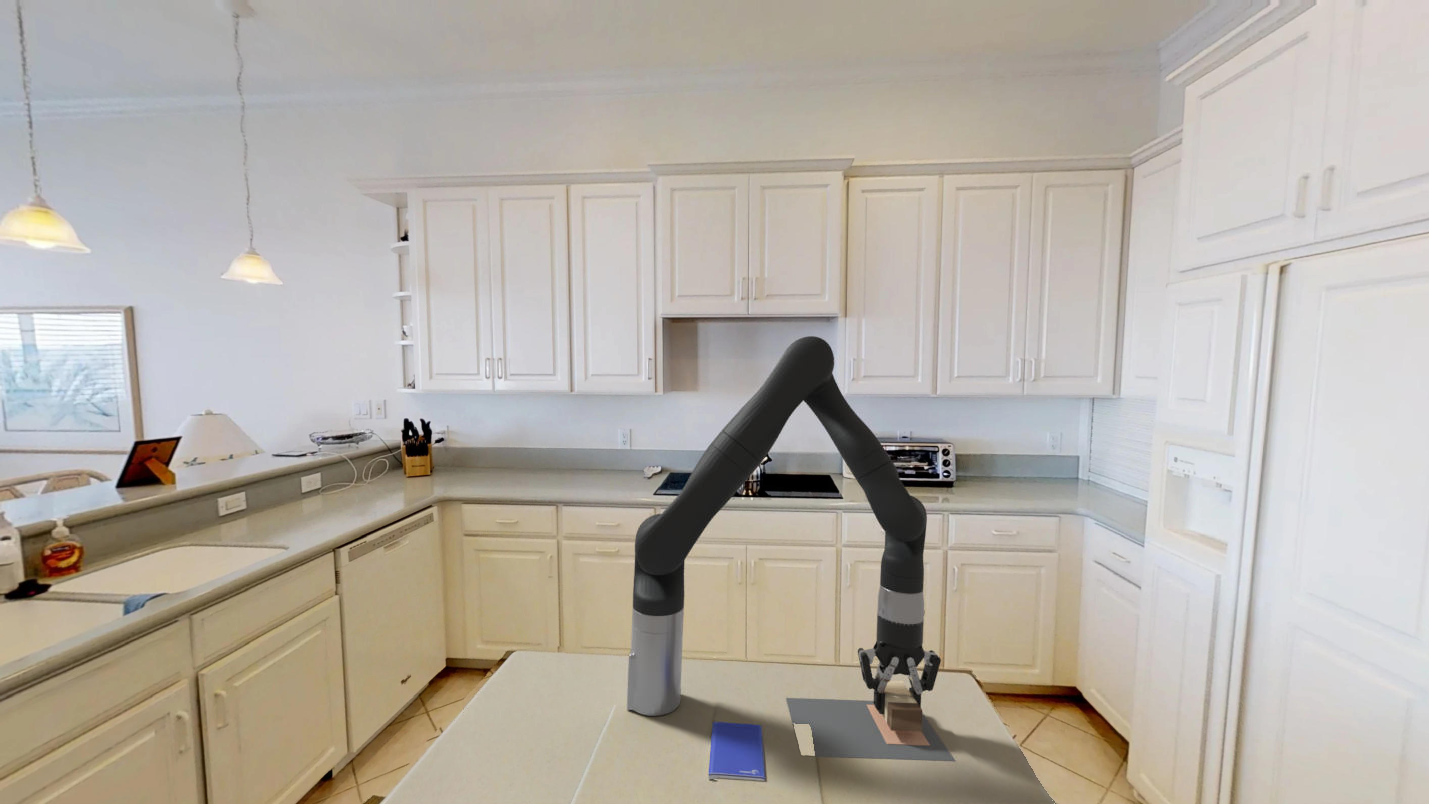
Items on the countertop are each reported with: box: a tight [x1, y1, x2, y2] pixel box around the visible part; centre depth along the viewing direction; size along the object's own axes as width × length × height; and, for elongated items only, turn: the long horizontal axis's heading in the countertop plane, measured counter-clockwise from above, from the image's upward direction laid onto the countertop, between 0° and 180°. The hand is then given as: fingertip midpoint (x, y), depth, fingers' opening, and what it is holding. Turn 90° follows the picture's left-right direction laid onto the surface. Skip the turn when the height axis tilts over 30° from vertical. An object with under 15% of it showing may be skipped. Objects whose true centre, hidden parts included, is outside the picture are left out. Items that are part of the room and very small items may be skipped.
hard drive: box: [707, 721, 766, 782], centre depth 82 cm, size 2×8×12 cm
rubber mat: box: [785, 697, 956, 762], centre depth 89 cm, size 24×16×1 cm, turn 90°
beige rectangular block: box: [882, 680, 923, 732], centre depth 90 cm, size 9×5×4 cm, turn 0°
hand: (896, 711), depth 90 cm, fingers closed on beige rectangular block, 5 cm apart
